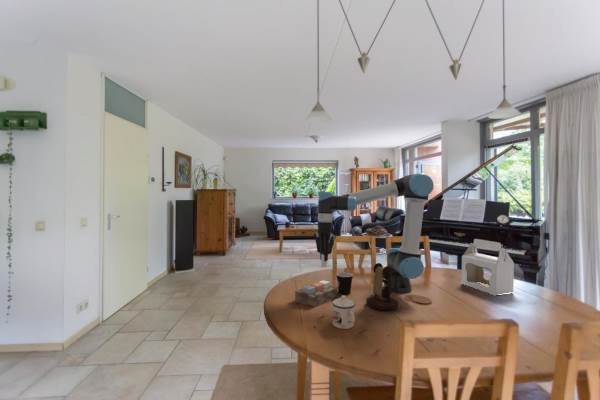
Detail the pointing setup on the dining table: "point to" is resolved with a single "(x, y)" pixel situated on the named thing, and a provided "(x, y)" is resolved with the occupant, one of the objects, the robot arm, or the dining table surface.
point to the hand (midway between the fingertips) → (323, 266)
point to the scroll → (382, 289)
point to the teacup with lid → (343, 313)
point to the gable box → (498, 265)
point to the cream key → (325, 284)
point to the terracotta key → (317, 286)
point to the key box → (316, 296)
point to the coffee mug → (344, 283)
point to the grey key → (309, 289)
